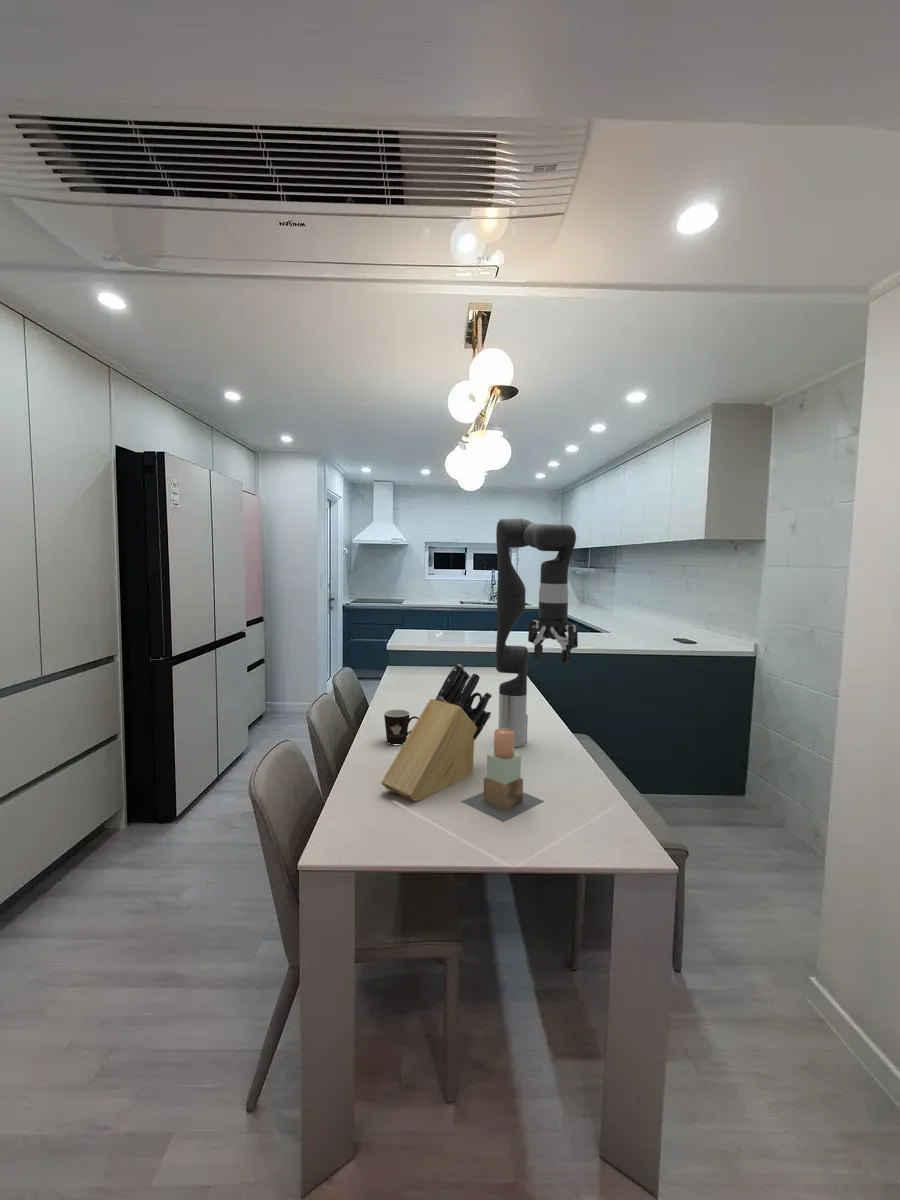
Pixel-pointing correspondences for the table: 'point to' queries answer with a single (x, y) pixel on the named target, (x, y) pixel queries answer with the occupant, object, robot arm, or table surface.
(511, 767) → the top block
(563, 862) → the table surface
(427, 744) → the knife block
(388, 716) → the coffee mug
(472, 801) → the mat
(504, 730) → the tan rounded cylinder
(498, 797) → the bottom block
